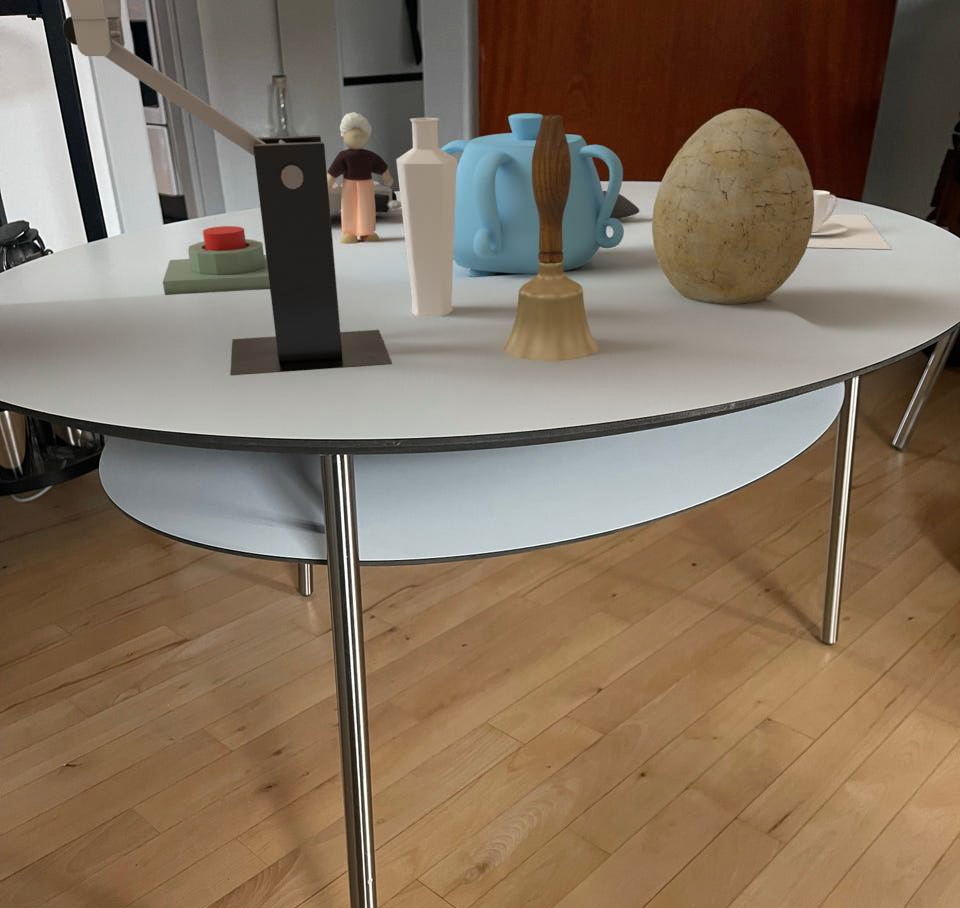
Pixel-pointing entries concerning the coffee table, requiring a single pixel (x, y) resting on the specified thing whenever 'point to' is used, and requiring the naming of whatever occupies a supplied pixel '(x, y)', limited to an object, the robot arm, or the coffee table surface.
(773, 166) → the fossilized egg
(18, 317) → the coffee table surface
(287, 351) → the bracket
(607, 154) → the decorative pot
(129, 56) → the lever
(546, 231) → the hand bell
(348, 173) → the grandmother figurine
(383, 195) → the robot toy
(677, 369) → the coffee table surface
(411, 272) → the white faceted vase
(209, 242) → the button
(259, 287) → the control block
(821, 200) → the teacup and saucer
